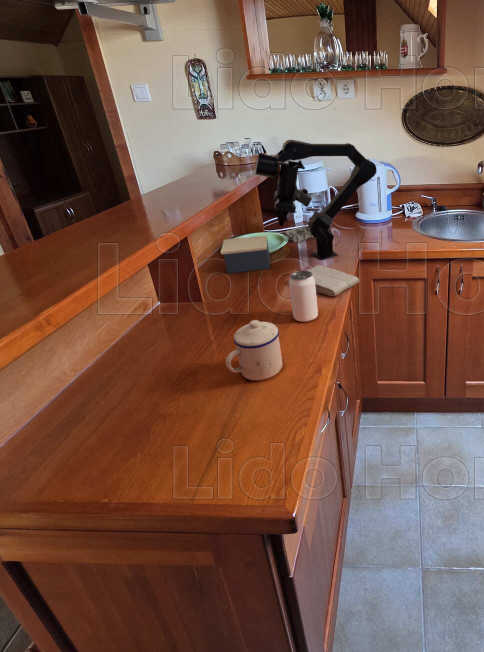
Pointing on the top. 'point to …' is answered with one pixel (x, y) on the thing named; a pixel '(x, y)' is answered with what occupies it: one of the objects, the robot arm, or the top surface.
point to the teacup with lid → (257, 351)
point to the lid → (244, 244)
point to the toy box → (247, 261)
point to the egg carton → (299, 234)
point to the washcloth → (332, 280)
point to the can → (303, 296)
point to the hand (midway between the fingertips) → (281, 225)
